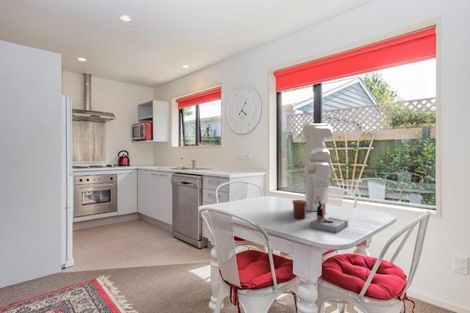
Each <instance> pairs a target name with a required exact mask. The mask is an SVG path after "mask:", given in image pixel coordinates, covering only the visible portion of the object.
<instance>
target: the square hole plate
mask: <svg viewBox="0 0 470 313" xmlns="http://www.w3.org/2000/svg"><path fill="white" fill-rule="evenodd" d="M309 227H310V229H316V230H320V231H324V232H329V233H331V232H332V233H336V234H337V233H339V232H340V231H342V230H343V229H345V228H347V227H346V221H340V220H334V219H328V218H326V217H325V218H321V217H320V218H318V219H317V218H316V219H314V220H312V221H310V223H309Z"/></svg>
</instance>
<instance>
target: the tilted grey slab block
mask: <svg viewBox="0 0 470 313" xmlns="http://www.w3.org/2000/svg"><path fill="white" fill-rule="evenodd" d="M327 219H334V220H340V221H346V227H345V228H347V227H348V226H349V223H350V222H349V219H346V218H341V217H335V216H330V217H328V218H327Z"/></svg>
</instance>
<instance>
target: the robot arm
mask: <svg viewBox="0 0 470 313" xmlns="http://www.w3.org/2000/svg"><path fill="white" fill-rule="evenodd" d="M302 134H303V138H304V140H305V145H306V146H305V147H306V149H305V150H306V152H305V156H304V175H305V176H304V177H305V178H304V179H305V201H307V207H306V211H308V212H309V211H310V212H316V217H317V216H323V210H322V204H324V203H325V209H326V208H327V206H326V204H327V203H328V199H329V198H328V197H329V190H328V188H329V178H330V177H331V174H332V169H331V152H330V151H329V150H328V149H325V147H326V146H325V140H328V141H329V140H332V139H333V136H334V132H333V128H332V127H331V125H329V124H328V123H306V124H305V125H303V127H302ZM319 203H320V204H319ZM320 205H321V206H320Z"/></svg>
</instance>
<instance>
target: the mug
mask: <svg viewBox="0 0 470 313" xmlns="http://www.w3.org/2000/svg"><path fill="white" fill-rule="evenodd" d="M291 201H292V202H291V203H292V206H293V207H292V213H293V214H292V215H293V218H294V219H297V220H304V219H305V218H306V211H307V210H306V207H307V201H306V200H304V199H294V200H293V199H292V200H291Z"/></svg>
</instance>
